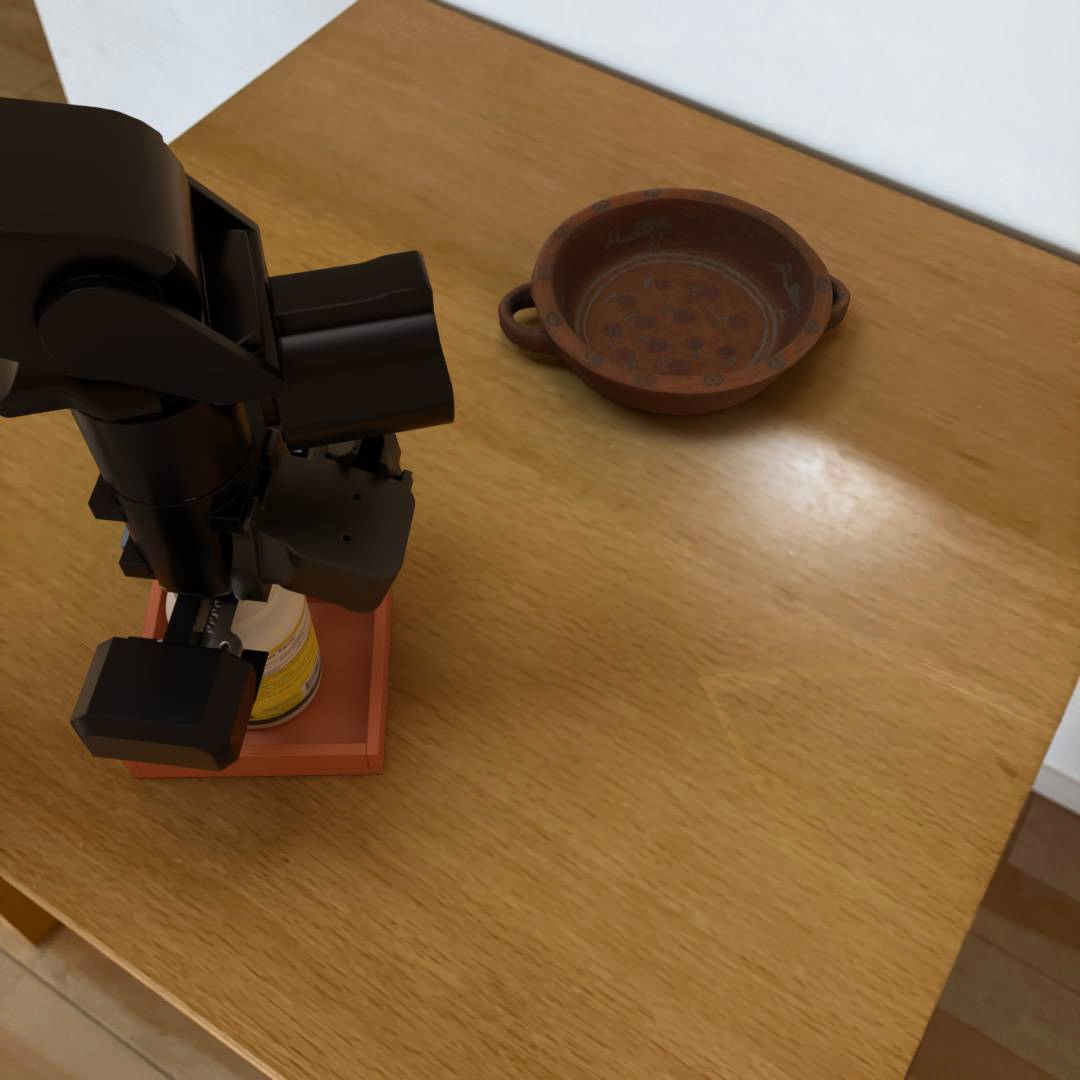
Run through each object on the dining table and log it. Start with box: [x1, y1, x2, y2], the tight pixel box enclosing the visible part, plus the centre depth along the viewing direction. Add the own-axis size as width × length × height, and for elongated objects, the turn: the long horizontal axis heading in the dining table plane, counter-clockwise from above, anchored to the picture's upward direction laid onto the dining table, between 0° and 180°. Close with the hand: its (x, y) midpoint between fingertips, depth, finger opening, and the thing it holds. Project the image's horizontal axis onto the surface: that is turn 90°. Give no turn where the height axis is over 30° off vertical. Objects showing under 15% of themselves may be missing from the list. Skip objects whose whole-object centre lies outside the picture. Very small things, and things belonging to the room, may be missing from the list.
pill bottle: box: [166, 584, 322, 729], centre depth 55 cm, size 6×6×11 cm
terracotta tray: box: [120, 579, 393, 779], centre depth 59 cm, size 12×10×2 cm
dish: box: [497, 187, 851, 416], centre depth 72 cm, size 18×22×5 cm
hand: (251, 644), depth 56 cm, fingers closed on pill bottle, 6 cm apart
